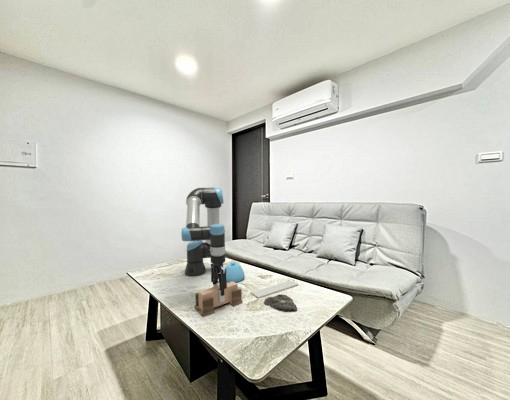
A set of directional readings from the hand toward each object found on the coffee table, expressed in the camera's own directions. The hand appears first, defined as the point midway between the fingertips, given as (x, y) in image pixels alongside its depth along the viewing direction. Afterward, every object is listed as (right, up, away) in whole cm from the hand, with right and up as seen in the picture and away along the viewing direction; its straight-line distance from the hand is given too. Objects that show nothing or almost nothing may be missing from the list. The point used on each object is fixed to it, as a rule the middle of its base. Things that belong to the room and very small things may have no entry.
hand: (219, 298), depth 112 cm
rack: (0, -3, 0) cm, 3 cm away
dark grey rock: (+33, -3, +1) cm, 33 cm away
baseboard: (+30, -3, +19) cm, 36 cm away
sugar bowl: (+4, -3, +36) cm, 36 cm away
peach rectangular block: (0, -2, 0) cm, 2 cm away
